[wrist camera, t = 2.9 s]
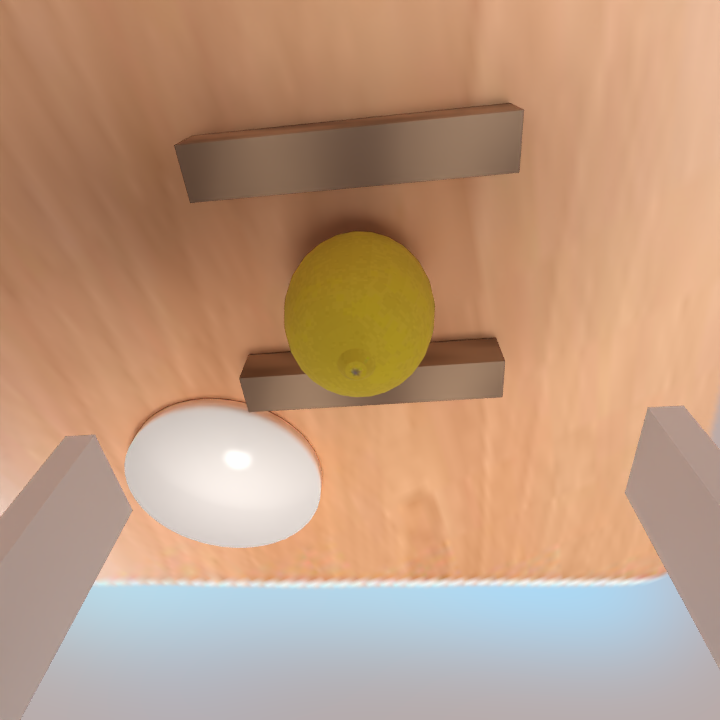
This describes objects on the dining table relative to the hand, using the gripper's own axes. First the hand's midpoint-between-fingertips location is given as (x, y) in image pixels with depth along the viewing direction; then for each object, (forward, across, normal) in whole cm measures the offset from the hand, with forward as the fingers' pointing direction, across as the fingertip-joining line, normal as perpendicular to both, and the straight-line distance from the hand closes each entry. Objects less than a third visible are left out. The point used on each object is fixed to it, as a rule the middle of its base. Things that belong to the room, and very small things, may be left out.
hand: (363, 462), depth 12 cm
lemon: (+12, 0, 0) cm, 12 cm away
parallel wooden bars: (+12, 0, 0) cm, 12 cm away
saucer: (+12, -9, -12) cm, 19 cm away
